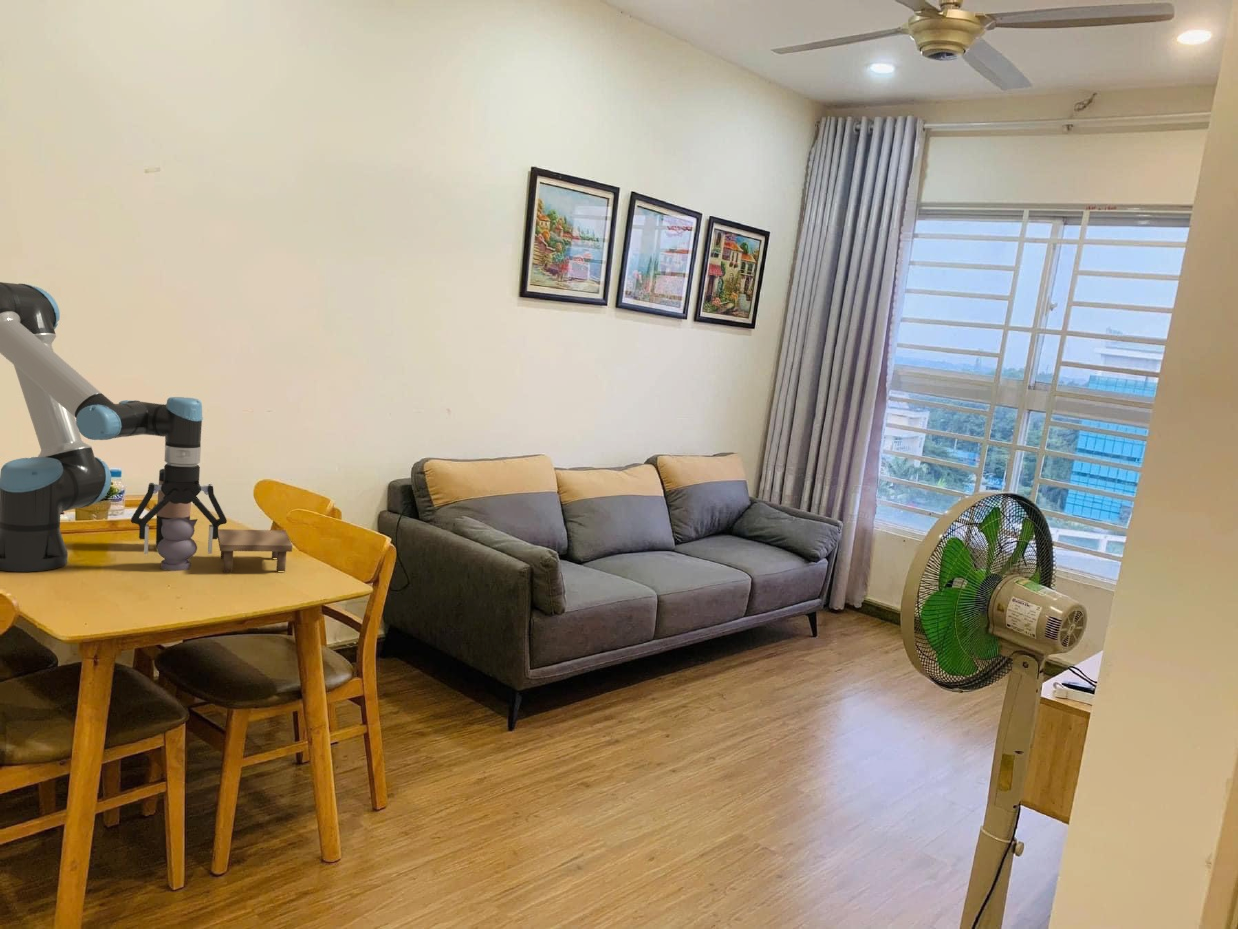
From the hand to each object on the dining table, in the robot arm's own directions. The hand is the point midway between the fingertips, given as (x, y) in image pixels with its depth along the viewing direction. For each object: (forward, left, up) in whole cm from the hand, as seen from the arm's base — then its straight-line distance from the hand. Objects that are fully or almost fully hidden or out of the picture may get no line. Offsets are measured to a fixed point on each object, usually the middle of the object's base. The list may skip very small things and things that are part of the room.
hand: (178, 552), depth 215 cm
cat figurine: (0, 0, -4) cm, 4 cm away
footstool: (+17, +2, -4) cm, 17 cm away
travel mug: (-1, +18, -4) cm, 19 cm away
